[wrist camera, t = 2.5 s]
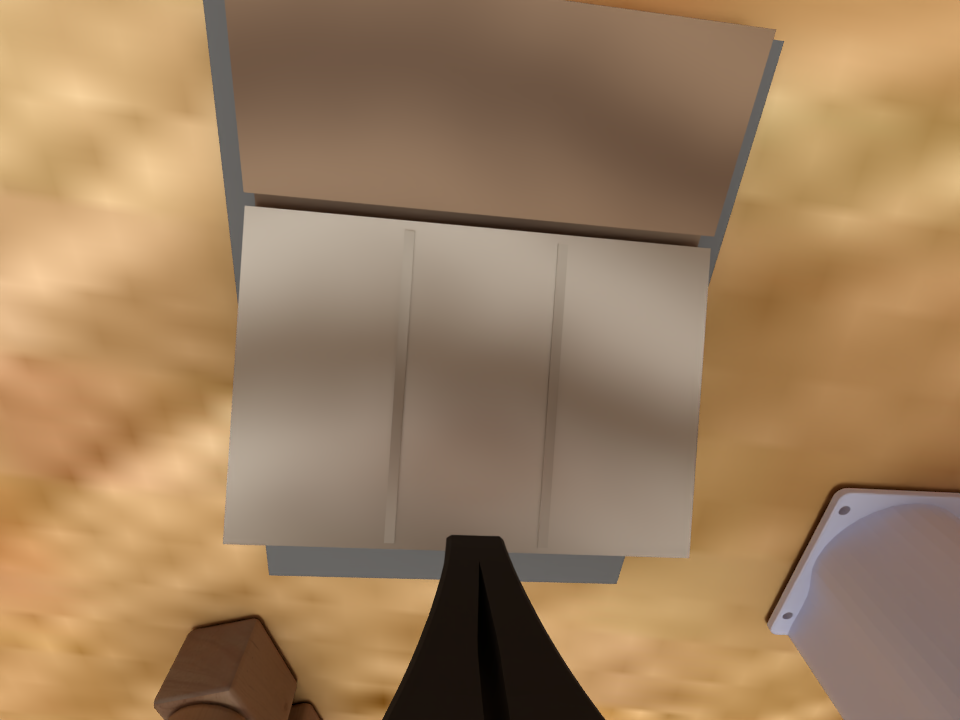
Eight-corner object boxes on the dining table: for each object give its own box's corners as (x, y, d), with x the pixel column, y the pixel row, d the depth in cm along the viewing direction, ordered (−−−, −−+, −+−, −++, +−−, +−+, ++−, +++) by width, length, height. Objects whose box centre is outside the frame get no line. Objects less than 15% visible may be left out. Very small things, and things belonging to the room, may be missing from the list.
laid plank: (690, 250, 17) (707, 259, 16) (260, 210, 15) (246, 217, 14) (751, 36, 14) (776, 29, 13) (238, -33, 13) (219, -47, 12)
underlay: (612, 573, 24) (616, 583, 24) (273, 564, 23) (269, 575, 22) (771, 44, 15) (784, 41, 14) (208, -32, 13) (198, -38, 13)
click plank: (670, 543, 17) (690, 558, 15) (239, 529, 15) (221, 544, 14) (690, 256, 17) (712, 247, 15) (259, 217, 15) (244, 204, 14)
